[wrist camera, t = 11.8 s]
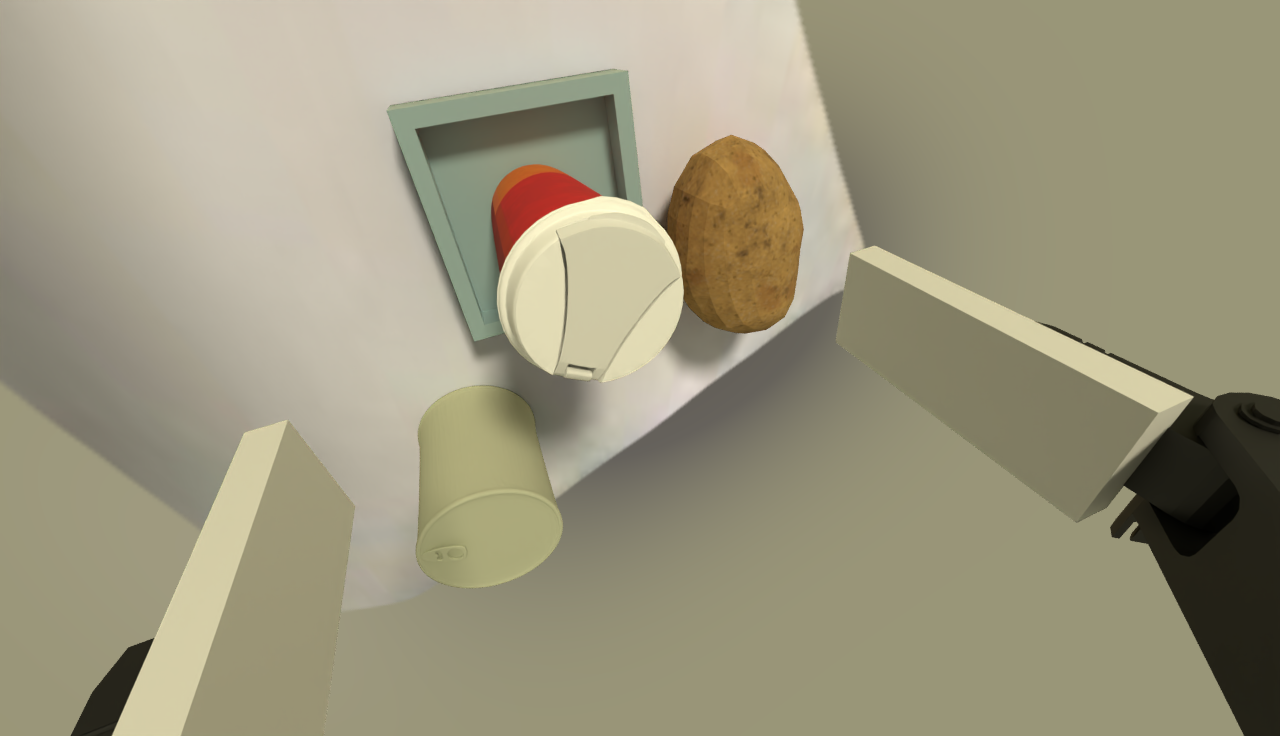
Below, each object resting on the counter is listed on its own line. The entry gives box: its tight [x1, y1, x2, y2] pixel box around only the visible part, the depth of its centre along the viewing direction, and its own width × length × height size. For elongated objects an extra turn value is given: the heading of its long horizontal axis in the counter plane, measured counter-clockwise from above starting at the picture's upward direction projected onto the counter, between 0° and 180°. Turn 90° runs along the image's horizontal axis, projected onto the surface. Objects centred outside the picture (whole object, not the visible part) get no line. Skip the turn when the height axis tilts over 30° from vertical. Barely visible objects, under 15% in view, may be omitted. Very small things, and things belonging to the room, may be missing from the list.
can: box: [416, 386, 563, 588], centre depth 35 cm, size 9×9×12 cm
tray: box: [387, 69, 643, 342], centre depth 31 cm, size 14×13×3 cm
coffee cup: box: [491, 164, 684, 382], centre depth 25 cm, size 8×8×15 cm
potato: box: [667, 135, 804, 334], centre depth 34 cm, size 10×14×8 cm
